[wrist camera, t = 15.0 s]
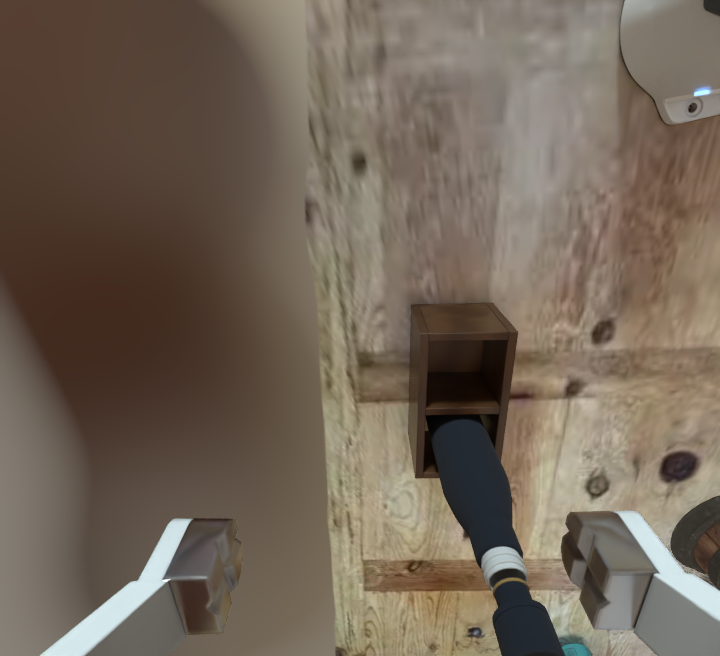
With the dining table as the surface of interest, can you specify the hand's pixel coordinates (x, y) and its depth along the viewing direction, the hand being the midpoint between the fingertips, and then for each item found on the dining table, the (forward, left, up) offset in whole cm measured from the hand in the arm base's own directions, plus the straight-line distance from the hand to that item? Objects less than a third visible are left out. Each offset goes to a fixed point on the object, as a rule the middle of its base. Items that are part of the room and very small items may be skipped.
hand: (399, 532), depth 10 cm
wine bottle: (-10, +22, -39) cm, 45 cm away
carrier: (-9, +17, -39) cm, 44 cm away
